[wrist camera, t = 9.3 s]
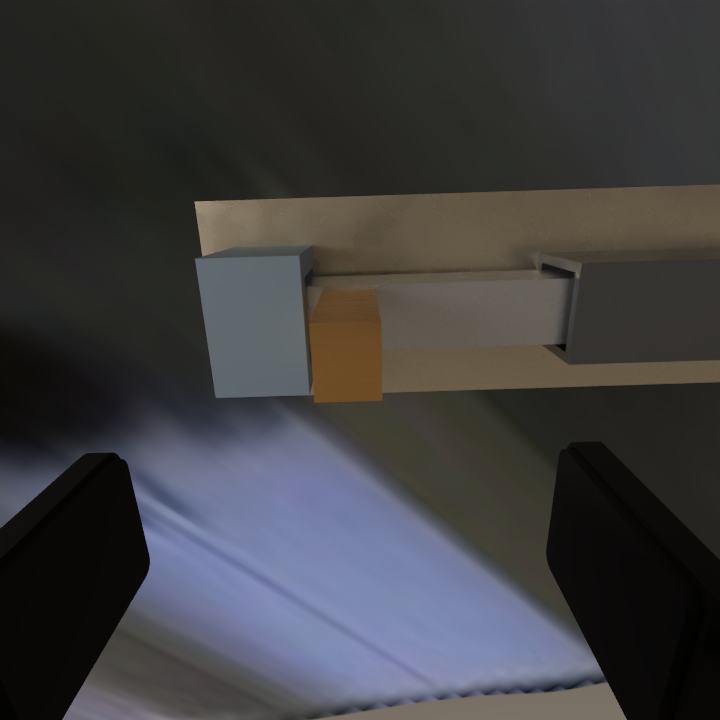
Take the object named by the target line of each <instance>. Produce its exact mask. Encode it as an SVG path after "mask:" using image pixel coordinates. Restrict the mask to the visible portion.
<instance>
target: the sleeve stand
mask: <svg viewBox="0 0 720 720" xmlns="http://www.w3.org/2000/svg"><path fill="white" fill-rule="evenodd" d="M195 207H196V214H197V221H198V228H199V235H200V242H201V249H202V256H206V255H209V254H212V253H216V252H219V251H222V250H225V249H229V248H239V247H270V246H301V245H312V253H313V269H314V277H328V276H359V275H390V274H421V273H452V272H483V271H514V270H545V269H565V270H569V271H572V272H575V280H574V288H573V295H572V303H571V311H570V319H569V327H568V335H567V343H566V344H549V345H517V346H486V347H454V348H422V349H391V350H382V393H388V392H420V391H452V390H484V389H516V388H547V387H579V386H611V385H643V384H675V383H707V382H720V185H690V186H659V187H629V188H598V189H568V190H537V191H507V192H476V193H446V194H416V195H385V196H355V197H324V198H294V199H263V200H233V201H202V202H195ZM310 395H314V387H313V383H312V387H311V391H310Z"/></svg>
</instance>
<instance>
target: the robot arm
mask: <svg viewBox="0 0 720 720" xmlns="http://www.w3.org/2000/svg"><path fill="white" fill-rule="evenodd" d="M546 554H547V561H548V565H549V568H550V570H551V572H552V574H553V576H554V578H555V580H556V582H557V584H558V586H559V588H560V590H561V592H562V594H563V596H564V598H565V599H566V601H567V603H568V605H569V607H570V609H571V611H572V613H573V615H574V617H575V619H576V621H577V623H578V625H579V627H580V629H581V631H582V633H583V635H584V637H585V639H586V641H587V642H588V644H589V646H590V648H591V650H592V652H593V654H594V656H595V658H596V660H597V662H598V664H599V666H600V668H601V670H602V672H603V674H604V676H605V678H606V680H607V682H608V684H609V686H610V687H611V689H612V691H613V693H614V695H615V697H616V699H617V701H618V703H619V705H620V707H621V709H622V711H623V713H624V715H625V716H626V719H627V720H720V560H719V559H718V558H717V557H716V556H715V555H714V554H713V553H712V552H711V551H710V550H709V549H708V548H707V547H706V546H705V545H704V544H703V543H702V542H701V541H700V540H699V539H698V538H697V537H696V536H695V535H694V534H693V533H692V532H691V531H690V530H689V529H688V528H687V527H686V526H685V525H684V524H683V523H682V522H681V521H680V520H679V519H678V518H677V517H676V516H675V515H674V514H673V513H672V512H671V511H670V510H669V509H668V508H667V507H666V506H665V505H664V504H663V503H662V502H661V501H660V500H659V499H658V498H657V497H656V496H655V495H654V494H653V493H652V492H651V491H650V490H649V489H648V488H647V487H646V486H645V485H644V484H643V483H642V482H641V481H640V480H639V479H638V478H637V477H636V476H635V475H634V474H633V473H632V472H631V471H630V470H629V469H628V468H627V467H626V466H625V465H624V464H623V463H622V462H621V461H620V460H619V459H618V458H617V457H616V456H615V455H614V454H613V453H612V452H611V451H610V450H609V449H608V448H607V447H606V446H605V445H604V444H603V443H601V442H572V443H570V444H569V446H568V448H567V449H563V450H561V452H560V455H559V460H558V468H557V475H556V483H555V490H554V497H553V505H552V512H551V520H550V527H549V534H548V542H547V550H546ZM149 565H150V557H149V553H148V548H147V544H146V540H145V536H144V531H143V527H142V523H141V519H140V514H139V510H138V506H137V502H136V498H135V493H134V489H133V485H132V481H131V476H130V472H129V468H128V465H127V462H126V461H125V460H123V459H120V457H119V456H118V455H117V454H116V453H87V454H85V455H83V456H82V457H80V458H79V459H78V460H77V461H76V462H75V463H74V464H73V465H71V466H70V467H69V468H68V469H67V470H66V471H65V472H64V473H62V474H61V475H60V476H59V477H58V478H57V479H56V480H55V481H53V482H52V483H51V484H50V485H49V486H48V487H47V488H46V489H44V490H43V491H42V492H41V493H40V494H39V495H38V496H37V497H35V498H34V499H33V500H32V501H31V502H30V503H29V504H28V505H26V506H25V507H24V508H23V509H22V510H21V511H20V512H19V513H17V514H16V515H15V516H14V517H13V518H12V519H11V520H10V521H8V522H7V523H6V524H5V525H4V526H3V527H2V528H1V529H0V720H62V719H63V717H64V715H65V714H66V712H67V710H68V709H69V707H70V705H71V704H72V702H73V700H74V698H75V697H76V695H77V693H78V692H79V690H80V688H81V686H82V685H83V683H84V681H85V680H86V678H87V676H88V675H89V673H90V671H91V669H92V668H93V666H94V664H95V663H96V661H97V659H98V658H99V656H100V654H101V652H102V651H103V649H104V647H105V646H106V644H107V642H108V640H109V639H110V637H111V635H112V634H113V632H114V630H115V629H116V627H117V625H118V623H119V622H120V620H121V618H122V617H123V615H124V613H125V612H126V610H127V608H128V606H129V605H130V603H131V601H132V600H133V598H134V596H135V594H136V593H137V591H138V589H139V588H140V586H141V584H142V583H143V581H144V579H145V577H146V575H147V573H148V570H149Z"/></svg>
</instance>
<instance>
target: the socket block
mask: <svg viewBox="0 0 720 720" xmlns="http://www.w3.org/2000/svg"><path fill="white" fill-rule="evenodd" d="M195 261H196V268H197V274H198V281H199V288H200V294H201V301H202V308H203V315H204V321H205V328H206V335H207V341H208V348H209V355H210V362H211V368H212V375H213V382H214V389H215V395H216V398H228V397H260V396H292V395H310V391H311V387H312V383H313V373H312V359H311V352H309V339H308V325H307V311H306V297H305V283H304V278H305V277H314V269H313V253H312V245H301V246H270V247H239V248H229V249H225V250H222V251H219V252H216V253H212V254H209V255H206V256H203V257H199V258H196V259H195Z"/></svg>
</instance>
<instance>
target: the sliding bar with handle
mask: <svg viewBox="0 0 720 720" xmlns="http://www.w3.org/2000/svg"><path fill="white" fill-rule="evenodd" d="M574 280H575V272H572V271H569V270H565V269H545V270H514V271H483V272H452V273H421V274H390V275H359V276H328V277H305V278H304V283H305V297H306V311H307V325H308V339H309V352H311V359H312V373H313V387H314V402H315V403H317V402H349V401H381V400H382V350H391V349H422V348H454V347H486V346H517V345H549V344H566V343H567V335H568V327H569V319H570V311H571V303H572V295H573V288H574Z"/></svg>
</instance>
